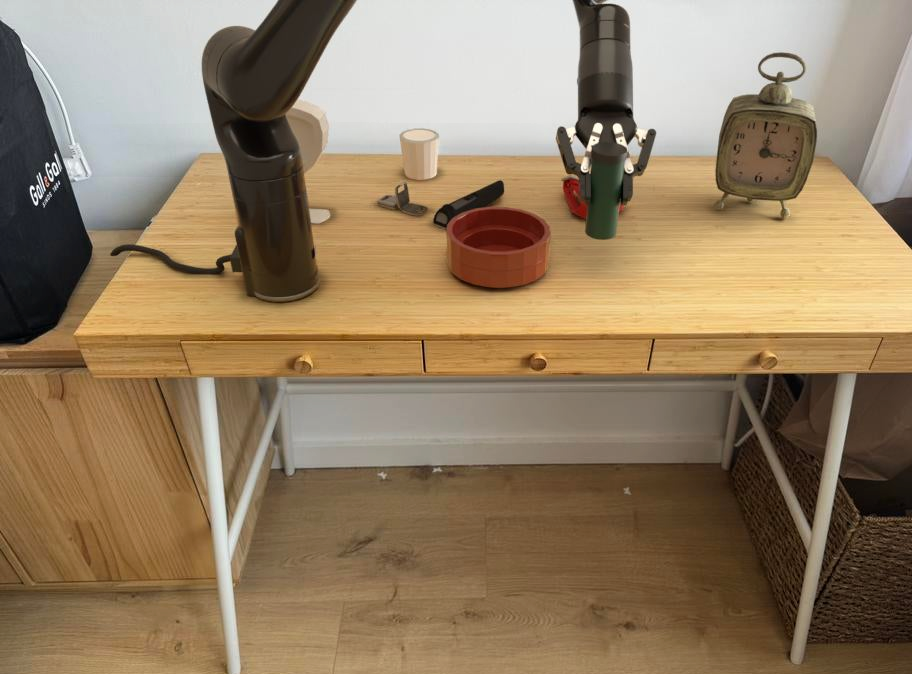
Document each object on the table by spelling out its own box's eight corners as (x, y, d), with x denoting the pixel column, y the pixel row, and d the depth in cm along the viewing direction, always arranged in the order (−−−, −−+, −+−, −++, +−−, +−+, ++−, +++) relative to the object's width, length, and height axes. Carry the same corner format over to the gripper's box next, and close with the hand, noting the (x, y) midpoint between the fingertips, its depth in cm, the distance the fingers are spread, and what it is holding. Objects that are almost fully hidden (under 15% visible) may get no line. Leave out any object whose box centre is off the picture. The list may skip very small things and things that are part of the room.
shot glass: (398, 167, 146) (395, 129, 142) (435, 164, 148) (434, 126, 143) (405, 183, 141) (403, 143, 136) (444, 179, 142) (443, 140, 138)
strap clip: (375, 205, 134) (373, 181, 131) (386, 198, 136) (384, 174, 133) (419, 217, 130) (417, 192, 128) (429, 210, 133) (428, 185, 130)
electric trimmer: (510, 200, 137) (510, 182, 135) (449, 231, 127) (448, 212, 125) (492, 194, 139) (493, 176, 137) (431, 224, 129) (430, 205, 127)
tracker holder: (632, 196, 136) (617, 205, 127) (622, 220, 138) (606, 231, 129) (568, 166, 138) (549, 174, 130) (559, 190, 140) (539, 199, 132)
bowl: (445, 292, 112) (444, 253, 109) (449, 242, 124) (448, 205, 120) (550, 293, 113) (553, 254, 109) (545, 243, 124) (547, 207, 121)
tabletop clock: (705, 213, 134) (734, 56, 119) (708, 191, 141) (736, 40, 126) (796, 224, 131) (838, 65, 116) (794, 201, 138) (833, 48, 123)
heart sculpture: (235, 218, 128) (212, 104, 118) (245, 205, 132) (224, 93, 122) (332, 224, 128) (318, 109, 117) (339, 210, 132) (327, 98, 121)
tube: (585, 240, 112) (593, 155, 105) (582, 224, 116) (589, 141, 109) (619, 240, 112) (629, 155, 105) (615, 225, 116) (625, 142, 109)
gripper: (555, 68, 108) (555, 192, 105) (662, 70, 108) (664, 194, 106) (551, 95, 115) (550, 212, 113) (651, 98, 116) (653, 213, 113)
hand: (606, 202), depth 109 cm, fingers closed on tube, 4 cm apart
